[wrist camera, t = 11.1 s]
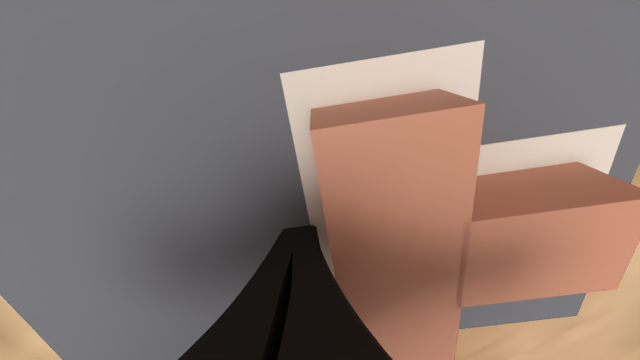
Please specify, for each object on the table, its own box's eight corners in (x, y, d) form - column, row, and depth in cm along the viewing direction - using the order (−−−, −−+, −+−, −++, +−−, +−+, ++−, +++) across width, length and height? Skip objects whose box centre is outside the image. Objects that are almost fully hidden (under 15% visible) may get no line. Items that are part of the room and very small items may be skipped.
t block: (538, 295, 12) (588, 349, 10) (345, 318, 13) (351, 375, 11) (607, 62, 8) (721, 67, 6) (311, 108, 8) (309, 130, 6)
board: (560, 298, 14) (577, 316, 13) (89, 353, 15) (75, 373, 14) (750, -245, 6) (828, -297, 5) (-254, -41, 7) (-334, -53, 6)
